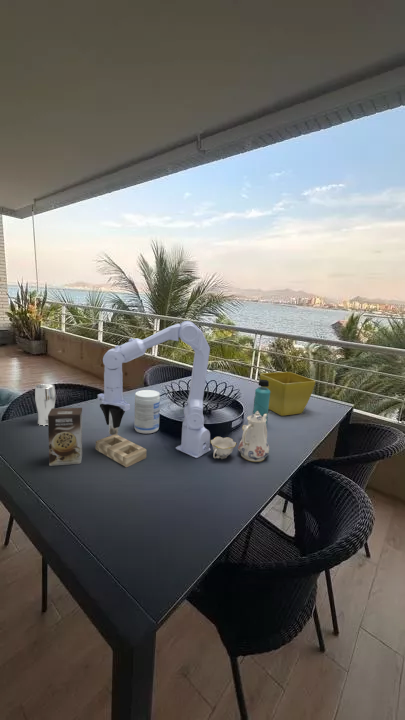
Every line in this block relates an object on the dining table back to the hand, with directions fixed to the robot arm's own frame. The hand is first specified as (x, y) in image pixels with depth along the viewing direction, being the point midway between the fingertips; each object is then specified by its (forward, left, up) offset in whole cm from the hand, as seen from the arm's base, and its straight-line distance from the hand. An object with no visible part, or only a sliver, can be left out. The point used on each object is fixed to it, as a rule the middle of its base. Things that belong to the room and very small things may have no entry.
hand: (113, 425), depth 106 cm
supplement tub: (+4, -19, -9) cm, 21 cm away
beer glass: (+35, +5, -9) cm, 37 cm away
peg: (0, 0, -3) cm, 3 cm away
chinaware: (-33, -31, -9) cm, 46 cm away
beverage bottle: (-26, -55, -9) cm, 61 cm away
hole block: (-4, 0, -9) cm, 9 cm away
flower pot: (-25, -81, -9) cm, 85 cm away
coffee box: (+4, +14, -9) cm, 17 cm away
